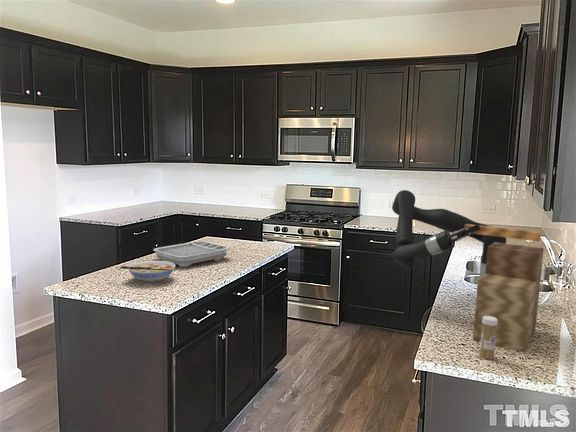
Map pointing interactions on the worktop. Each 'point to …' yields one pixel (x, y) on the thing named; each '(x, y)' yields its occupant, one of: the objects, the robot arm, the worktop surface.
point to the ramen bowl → (150, 270)
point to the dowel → (507, 232)
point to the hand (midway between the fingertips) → (480, 226)
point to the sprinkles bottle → (488, 337)
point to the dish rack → (191, 252)
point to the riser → (510, 294)
